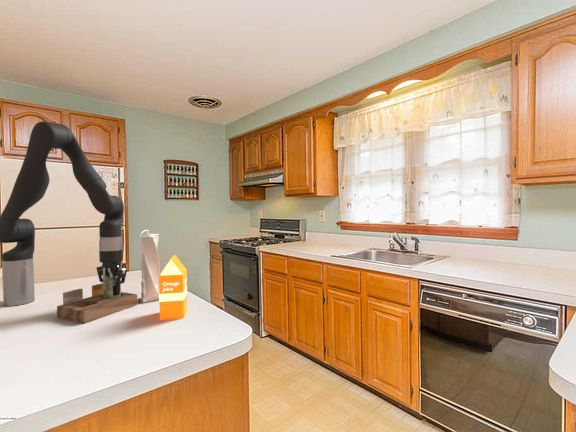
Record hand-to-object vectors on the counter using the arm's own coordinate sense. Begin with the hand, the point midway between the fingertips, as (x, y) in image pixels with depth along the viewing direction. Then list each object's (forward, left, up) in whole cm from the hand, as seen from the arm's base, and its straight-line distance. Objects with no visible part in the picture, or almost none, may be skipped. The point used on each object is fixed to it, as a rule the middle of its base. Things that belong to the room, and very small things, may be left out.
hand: (112, 294), depth 112 cm
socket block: (0, -5, -5) cm, 7 cm away
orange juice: (+28, +2, -5) cm, 29 cm away
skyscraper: (+6, +12, -5) cm, 14 cm away
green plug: (0, 0, -3) cm, 3 cm away
